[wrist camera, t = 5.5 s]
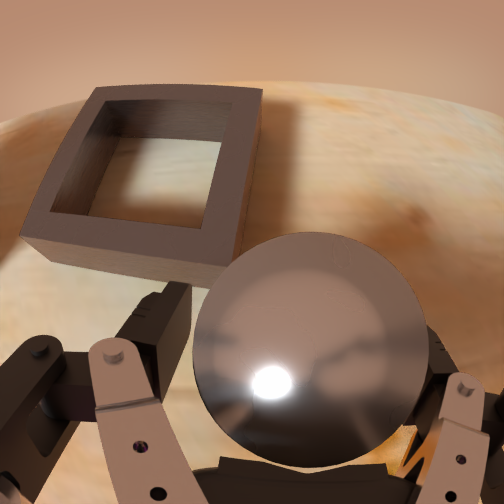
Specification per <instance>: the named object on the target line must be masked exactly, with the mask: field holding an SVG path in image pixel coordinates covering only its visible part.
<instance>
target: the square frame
mask: <svg viewBox="0 0 504 504" xmlns="http://www.w3.org/2000/svg"><path fill="white" fill-rule="evenodd" d="M262 95H263V89H258V88H247V87H234V86H218V85H193V84H150V85H123V86H107V87H96V88H95V90H94V91H93V92H92V94H91V96H90V97H89V99H88V100H87V102H86V103H85V105H84V106H83V108H82V109H81V111H80V113H79V114H78V116H77V118H76V119H75V121H74V123H73V124H72V126H71V128H70V129H69V131H68V133H67V135H66V136H65V138H64V140H63V142H62V144H61V145H60V147H59V149H58V151H57V153H56V155H55V157H54V158H53V160H52V162H51V164H50V166H49V168H48V170H47V172H46V174H45V176H44V179H43V181H42V183H41V185H40V187H39V189H38V191H37V194H36V196H35V198H34V200H33V203H32V205H31V207H30V210H29V212H28V214H27V217H26V219H25V222H24V224H23V227H22V229H21V232H20V235H19V236H20V237H21V238H22V239H24V240H25V241H26V242H27V243H28V244H30V245H31V246H32V247H33V248H35V249H36V250H37V251H38V252H40V253H41V254H42V255H43V256H45V257H46V258H47V259H48V260H50V261H51V262H56V263H61V264H66V265H72V266H77V267H82V268H87V269H93V270H98V271H104V272H109V273H115V274H121V275H126V276H132V277H138V278H144V279H150V280H156V281H162V282H169V281H177V282H183V283H190V284H191V285H192V286H194V287H201V288H207V289H211V287H212V285H213V284H214V283H215V281H216V280H217V279H218V277H219V276H220V275H221V273H222V272H223V271H224V270H225V269H226V268H227V267H228V266H229V265H230V264H231V263H232V262H233V261H235V260H236V259H237V258H238V257H239V255H240V249H241V243H242V237H243V231H244V225H245V219H246V213H247V206H248V200H249V194H250V188H251V182H252V177H253V171H254V165H255V159H256V153H257V147H258V141H259V135H260V130H261V112H262ZM120 137H141V138H169V139H187V140H202V141H215V142H222V144H221V148H220V151H219V155H218V159H217V163H216V167H215V171H214V175H213V179H212V183H211V187H210V192H209V196H208V200H207V204H206V208H205V213H204V217H203V221H202V226H201V229H196V228H188V227H179V226H171V225H163V224H154V223H146V222H137V221H128V220H119V219H111V218H102V217H92V216H87V214H88V211H89V209H90V206H91V203H92V201H93V198H94V196H95V193H96V191H97V188H98V186H99V184H100V181H101V179H102V176H103V174H104V172H105V169H106V167H107V165H108V163H109V160H110V158H111V156H112V154H113V152H114V149H115V147H116V145H117V143H118V141H119V139H120Z"/></svg>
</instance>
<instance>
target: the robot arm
mask: <svg viewBox="0 0 504 504" xmlns="http://www.w3.org/2000/svg"><path fill="white" fill-rule="evenodd" d="M191 312H192V285H191V284H190V283H183V282H177V281H169V282H168V284H167V285H166V287H165V288H164V290H163V291H162V293H157V292H153V293H151V294H149V295H147V296H146V297H144V298H143V299H142V300H141V301H140V303H139V304H138V305H137V308H135V309H134V311H133V312H132V315H130V316H129V318H128V319H127V321H126V322H125V323H124V325H123V326H122V328H121V329H120V330H119V332H118V333H117V335H116V336H115V337H114V338H107V339H103V340H101V341H98V342H97V343H95V344H94V345H93V346H92V347H91V348H90V350H89V352H65V351H63V347H62V344H61V342H60V341H59V340H58V339H57V338H55V337H53V336H49V335H38V336H34V337H32V338H30V339H28V340H26V341H25V342H24V343H23V344H22V345H21V346H20V347H19V348H18V349H17V350H16V351H15V352H14V353H13V354H12V355H11V356H10V357H9V358H8V359H7V360H6V361H5V362H4V363H3V364H2V365H1V366H0V504H34V502H35V500H36V499H37V497H38V495H39V493H40V491H41V489H42V488H43V486H44V484H45V482H46V480H47V479H48V477H49V475H50V473H51V471H52V470H53V468H54V466H55V464H56V463H57V461H58V459H59V457H60V456H61V454H62V452H63V451H64V449H65V447H66V445H67V444H68V442H69V440H70V439H71V437H72V435H73V434H74V432H75V430H76V429H77V427H78V425H79V424H80V422H81V421H84V422H97V424H98V429H99V433H100V438H101V442H102V446H103V450H104V454H105V458H106V462H107V466H108V470H109V473H110V477H111V480H112V483H113V487H114V490H115V493H116V496H117V500H118V503H119V504H478V501H479V497H481V500H482V503H483V504H504V451H503V449H502V446H503V445H504V389H503V390H502V392H501V393H500V395H497V394H492V393H487V392H485V391H484V387H483V385H482V384H481V383H480V381H478V380H477V379H476V378H475V377H473V376H472V375H469V374H467V373H462V372H459V371H458V369H457V367H456V366H455V364H454V362H453V360H452V359H451V357H450V355H449V354H448V352H447V351H445V347H444V345H443V344H442V343H441V341H440V339H439V337H438V336H437V334H436V333H435V332H434V331H433V330H432V329H431V328H429V327H428V326H427V325H426V326H427V332H428V341H429V356H428V367H427V372H426V376H425V381H424V384H423V387H422V390H421V392H420V395H419V397H418V399H417V401H416V403H415V405H414V407H413V409H412V411H411V412H410V414H409V415H408V416H407V418H406V419H405V421H404V422H403V423H402V424H403V426H409V425H416V427H417V429H416V431H415V432H414V434H413V436H412V438H411V440H410V443H409V445H408V448H407V450H406V452H405V455H404V457H403V459H402V462H401V464H400V466H399V468H398V471H397V473H396V474H395V476H393V475H389V474H388V471H387V467H386V463H383V464H366V465H347V466H343V467H339V468H334V469H330V470H325V471H321V472H316V473H309V474H308V473H301V472H297V471H294V470H290V469H286V468H283V467H279V466H276V465H272V464H269V463H266V462H260V461H251V460H243V459H235V458H228V457H222V456H220V460H219V465H218V467H212V468H204V469H198V470H194V471H191V469H190V467H189V465H188V463H187V460H186V458H185V456H184V454H183V452H182V450H181V448H180V446H179V443H178V441H177V439H176V437H175V434H174V432H173V430H172V428H171V425H170V423H169V421H168V418H167V416H166V414H165V411H164V409H163V406H162V403H163V400H164V398H165V395H166V393H167V390H168V387H169V385H170V382H171V380H172V377H173V375H174V372H175V370H176V368H177V365H178V363H179V360H180V358H181V355H182V353H183V350H184V348H185V345H186V343H187V340H188V338H189V334H190V329H191ZM29 415H30V416H29Z"/></svg>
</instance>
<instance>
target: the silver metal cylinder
mask: <svg viewBox="0 0 504 504" xmlns="http://www.w3.org/2000/svg"><path fill="white" fill-rule="evenodd" d="M192 352H193V369H194V375H195V380H196V384H197V387H198V390H199V393H200V396H201V398H202V400H203V402H204V404H205V406H206V408H207V410H208V412H209V413H210V415H211V416H212V418H213V419H214V421H215V422H216V423H217V424H218V425H219V427H220V428H221V429H222V430H223V431H224V432H225V433H226V434H227V435H228V436H229V437H231V438H232V439H233V440H234V441H235V442H237V443H238V444H239V445H241V446H242V447H244V448H245V449H247V450H249V451H250V452H252V453H254V454H255V455H257V456H259V457H262V458H264V459H267V460H269V461H272V462H275V463H279V464H283V465H287V466H293V467H302V468H317V467H327V466H333V465H338V464H341V463H344V462H348V461H351V460H354V459H356V458H358V457H360V456H362V455H364V454H366V453H368V452H370V451H371V450H373V449H374V448H376V447H378V446H379V445H381V444H382V443H383V442H384V441H385V440H387V439H388V438H389V437H390V436H391V435H392V434H393V433H394V432H395V431H396V430H397V429H398V428H399V427H400V426H401V425H402V423H403V422H404V421H405V419H406V418H407V416H408V415H409V414H410V412H411V411H412V409H413V407H414V405H415V403H416V401H417V399H418V397H419V395H420V392H421V390H422V387H423V384H424V381H425V376H426V372H427V367H428V356H429V341H428V332H427V326H426V322H425V318H424V314H423V311H422V308H421V306H420V304H419V301H418V299H417V297H416V295H415V293H414V291H413V290H412V288H411V286H410V285H409V283H408V282H407V280H406V279H405V278H404V276H403V275H402V274H401V273H400V272H399V271H398V270H397V268H396V267H395V266H394V265H393V264H392V263H391V262H389V261H388V260H387V259H386V258H385V257H383V256H382V255H381V254H379V253H378V252H376V251H375V250H373V249H372V248H370V247H368V246H366V245H364V244H362V243H360V242H358V241H356V240H353V239H350V238H347V237H344V236H340V235H335V234H331V233H322V232H299V233H293V234H287V235H283V236H279V237H276V238H273V239H270V240H268V241H265V242H263V243H261V244H258V245H256V246H255V247H253V248H251V249H250V250H248V251H246V252H245V253H243V254H242V255H241V256H240V257H238V258H237V259H236V260H235V261H233V262H232V263H231V264H230V265H229V266H228V267H227V268H226V269H225V270H224V271H223V272H222V273H221V275H220V276H219V277H218V279H217V280H216V281H215V283H214V284H213V285H212V287H211V289H210V290H209V292H208V294H207V296H206V298H205V299H204V302H203V304H202V307H201V309H200V312H199V314H198V318H197V323H196V327H195V331H194V341H193V351H192Z"/></svg>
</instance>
